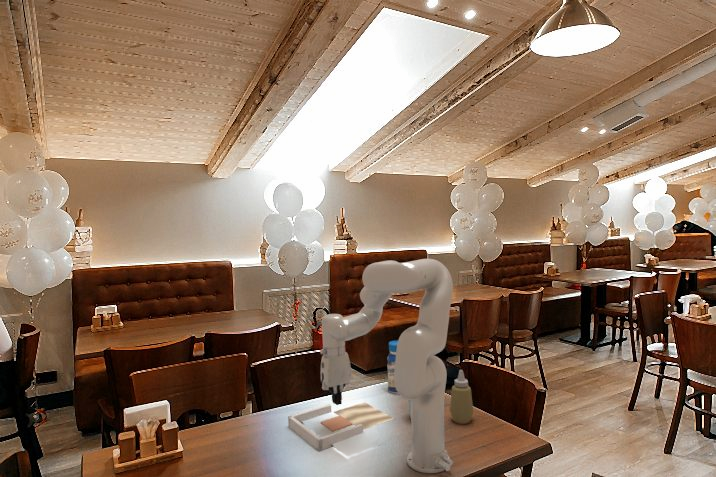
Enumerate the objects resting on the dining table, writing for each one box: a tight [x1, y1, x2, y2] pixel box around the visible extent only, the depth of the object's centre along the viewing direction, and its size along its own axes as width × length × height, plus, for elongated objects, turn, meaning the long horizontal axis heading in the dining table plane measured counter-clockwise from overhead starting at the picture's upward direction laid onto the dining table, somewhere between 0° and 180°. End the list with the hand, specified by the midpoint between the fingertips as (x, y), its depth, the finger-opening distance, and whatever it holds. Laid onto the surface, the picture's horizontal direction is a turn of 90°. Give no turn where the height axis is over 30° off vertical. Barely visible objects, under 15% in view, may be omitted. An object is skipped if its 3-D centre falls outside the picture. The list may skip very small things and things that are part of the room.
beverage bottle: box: [386, 340, 400, 395], centre depth 195 cm, size 8×8×20 cm
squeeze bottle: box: [449, 369, 474, 425], centre depth 166 cm, size 8×8×18 cm
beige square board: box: [333, 401, 395, 431], centre depth 171 cm, size 18×14×1 cm
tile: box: [320, 415, 354, 432], centre depth 165 cm, size 8×8×2 cm
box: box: [287, 404, 364, 452], centre depth 162 cm, size 21×17×4 cm
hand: (337, 403), depth 164 cm, fingers closed
